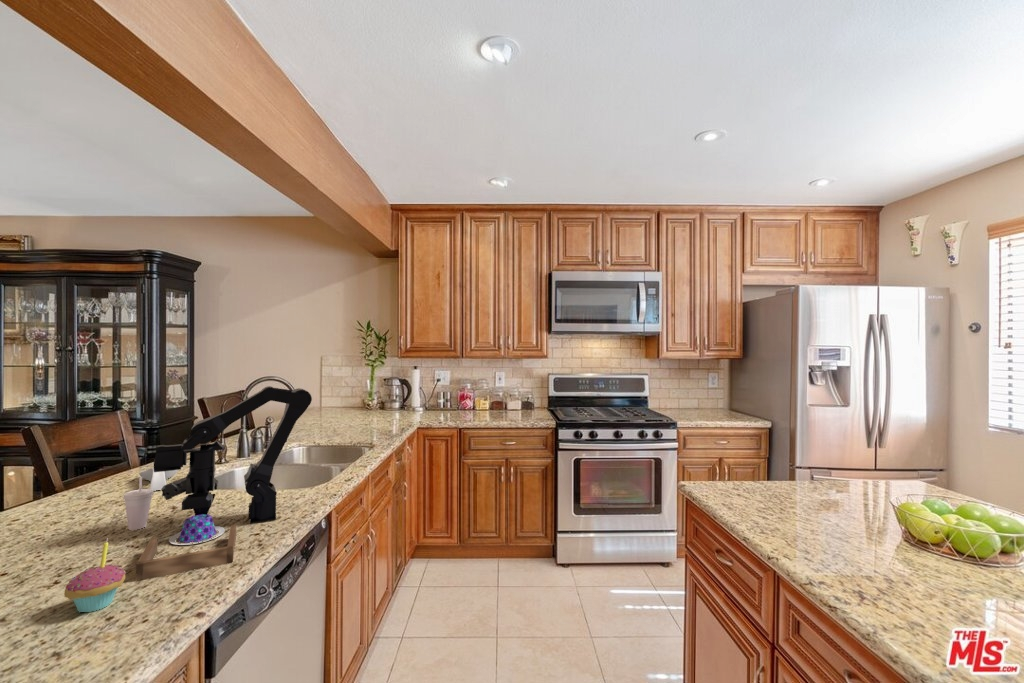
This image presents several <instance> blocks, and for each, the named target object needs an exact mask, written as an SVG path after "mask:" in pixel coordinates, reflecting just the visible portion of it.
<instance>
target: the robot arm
mask: <svg viewBox="0 0 1024 683" xmlns="http://www.w3.org/2000/svg"><path fill="white" fill-rule="evenodd" d="M312 400H313V398H312V395H311V392H309V391H307V390H306V389H304V388H300V387H299V388H295V389H286V388H285V389H284V388H278V387H274V386H270V385H269V386H265V387H263V388H262V389H261V390H260V391H258V392H256V393H254V394H253V395H251V396H248V397H247V398H246V399H244V400H242V401H241V402H239V403H237V404H235V405H233V406H232V407H230V408H228V409H226V410H224V411H223V412H220V413H218V414H215V415H211V416H209V417H207V418H204V419H201V420H198V421H197V422H196V423H194V424H193V425H192V427H191V430H190V433H189V436H187V437H186V438H185V439H184V440H183V442H182V444H180V443H179V444H170V445H168V444H167V445H165V444H161V445H160V444H159V445H156V448H155V454H154V456H155V457H154V460H153V468H154V472H163V471H172V470H178V471H180V470H182V468H183V467H184V466H187V464H189V465H188V466H189V467H188V468H189V471H188V473H187V474H186V475H185V477H182V478H179V479H177V480H174V481H171V482H169V483H166V485H165V486H163V488H162V489H161V490H162V491H161V492H162V494H161V496H162V497H164V499H165V501H168V500H171V499H173V498H174V497H176V496H178V495H181V494H184V493H185V495H186V496H185V497H184V498H183V500H182V502H181V510H182V511H187V510H189V511H190V510H193V513H194V516H195V515H201V514H204V515H206V514H208V513H209V511H210V509H211V507H212V504H213V503H214V500H215V497H216V494H215V493H212V492H214V490H217V491H218V488H219V480H218V479H217V478H215V473H216V451H222V450H223V449H224V445H223V444H221V443H220V442H219V441H218V440H217V439H216V440H214V439H215V438H217V437H218V436H219V435H221V433H223V432H224V431H225V430H226V429H227V428H228V427H229V426H231V425H232V424H233V423H236V422H237V421H238V420H240V419H242V418H243V417H245V416H247V415H249V414H251V413H252V412H254V411H255V410H257V409H258V408H260V407H262V406H265V404H268V403H269V402H277V403H282V404H285V406H284V412H283V415H282V417H281V418H280V421H279V423H278V425H277V427H276V428H275V430H274V432H273V434H272V437H271V438H270V440H269V442H268V444H267V446H266V448H265V450H264V452H263V454H262V456H261V457H260V459H259V460H258V462H257V463H256V464H254V463H253V462H251V463H250V464H249V468H248V470H247V472H246V473H245V474H244V475H243V478H244V486H245V487H244V488H245V491H246V493H247V494H248V495H249V496H251V501H250V502H249V504H248V521H249V524H251V525H252V524H257V523H258V524H259V523H263V522H264V523H265V522H269V521H270V522H271V521H275V520H277V494H278V492H277V490H276V487H275V484H274V483H272V482H271V479H272V475H273V471H274V466H275V464H276V462H277V460H278V458H279V456H280V454H281V452H282V450H283V448H284V447H285V444H286V442H287V440H288V439H289V436H290V435H291V433H292V431H293V428H294V427H295V426H296V425H295V424H296V422H297V421H298V420H299V419H300V417H302V416H303V415H304V413H305V412H306V410H307V409H308V408H309V407H310V405H311V403H312ZM213 440H214V442H212V441H213ZM210 442H212V443H210ZM199 445H200V446H199ZM197 446H199V447H197ZM188 454H189V463H187V462H188Z"/></svg>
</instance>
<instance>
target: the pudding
mask: <svg viewBox="0 0 1024 683" xmlns="http://www.w3.org/2000/svg"><path fill="white" fill-rule="evenodd" d="M217 530H218V531H219V534H218V533H217V532H218V531H217ZM225 532H226V530H225V528H224V527H222V526H219V525H218V526H217V525H215V522H214V519H213V517H212V515H210V514H208V513H207V514H206V515H204V514H201V515H195V514H194V515H192V516H190V517H187V518H186V519H185V520H184V522H183V525H182V527H181V531H180V532H177V533H175V534H174V535H172V536H170V537H169V539H168V542H169V543H170V544H172V545H176V546H178V545H179V546H187V545H188V546H189V545H190V546H191V543H193V544H192V545H195V544H200V543H204V542H208V541H211V540H214V539H216V538H218V537H220V536H221V535H223V534H224V533H225ZM179 535H180V537H178V536H179ZM216 535H218V536H216ZM215 536H216V537H215ZM177 537H178V538H177ZM213 537H214V538H213ZM176 538H177V539H178V540H179V541H180V542H179V541H178V542H179V543H181V544H177V543H178V542H177V541H176V542H177V543H176V542H175V539H176ZM211 538H212V539H211ZM177 539H176V540H177ZM182 541H183V542H184V543H183V542H182ZM202 541H203V542H202ZM190 542H191V543H190ZM198 542H199V543H198Z"/></svg>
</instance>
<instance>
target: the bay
mask: <svg viewBox="0 0 1024 683" xmlns="http://www.w3.org/2000/svg"><path fill="white" fill-rule="evenodd" d="M229 528H230V529H229V534H228V540H227V545H226V546H222V547H217V548H216V547H215V548H211V549H205V550H200V551H199V550H198V551H194V552H188V553H187V552H186V553H182V554H176V555H170V556H165V557H159V558H155V557H156V555H157V553H156V552H158V540H159V536H153V537H152V536H151V537H150V539H149V542H148V543H147V545H146V546H145V548H144V549H143V551H142V553H141V555H140V557H139V559H138V560H137V562H136V563H135V577H134V579H135V580H139V581H141V580H140V579H144V580H148V579H147V578H150V579H153V578H152V577H155V578H158V577H157V576H160V577H164V575H165V576H169V574H171V575H174V573H176V574H180V573H179V572H181V573H185V572H184V571H186V572H190V571H189V570H192V571H195V570H194V569H197V570H200V568H202V569H206V568H205V567H207V568H211V567H210V566H213V567H216V566H215V565H218V566H222V565H221V564H223V565H228V564H232V562H233V563H234V555H235V554H234V553H235V548H236V547H235V546H236V541H237V540H236V539H237V524H231V525H230V527H229ZM155 554H156V555H155ZM154 556H155V557H154ZM153 558H154V559H153ZM227 563H228V564H227ZM135 580H134V581H135Z"/></svg>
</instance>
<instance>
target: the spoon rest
mask: <svg viewBox="0 0 1024 683" xmlns="http://www.w3.org/2000/svg"><path fill="white" fill-rule="evenodd" d="M178 471H179V470H172V471H163V472H154V467H151V468H148V469H144V470H141V471H139V472H138V475H139V477H141V476H142V480H145V481H147V480H149V481H151V482H150V484H149V489H152V490H153V491H156V490H161V489H162V488H163V486H165V485H166V484H167V480H166V479H168V478H170V477H171V478H173V477H174V476H175V475H176V474H177V473H178ZM171 478H170V479H171ZM168 480H169V479H168ZM149 481H148V482H149Z"/></svg>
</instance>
